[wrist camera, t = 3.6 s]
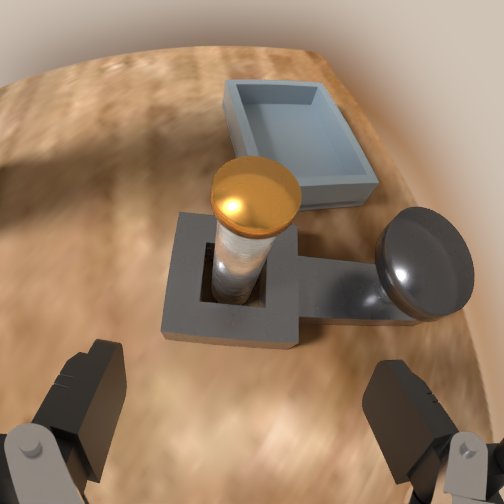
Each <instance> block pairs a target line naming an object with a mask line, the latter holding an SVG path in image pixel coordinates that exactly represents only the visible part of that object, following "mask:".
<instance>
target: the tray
mask: <svg viewBox="0 0 504 504" xmlns="http://www.w3.org/2000/svg"><path fill="white" fill-rule="evenodd" d="M223 110H224V114H225V118H226V122H227V126H228V130H229V134H230V138H231V141H232V145H233V149H234V153H235V157H236V158H238V157H243V156H260V157H265V158H268V159H271V160H274V161H276V162H278V163H280V164H281V165H283V166H284V167H286V168H287V169H288V170H289V171H290V172H291V173H292V174H293V175H294V176H295V178H296V179H297V181H298V183H299V186H300V189H301V195H302V197H301V204H300V207H299V209H298V211H306V210H317V209H329V208H340V207H353V206H363V204H364V203H365V202H366V200H367V199H368V197H369V196H370V195H371V193H372V192H373V191H374V189H375V188H376V187H377V185H378V184H379V181H378V179H377V177H376V175H375V173H374V171H373V169H372V167H371V165H370V164H369V162H368V160H367V158H366V156H365V154H364V152H363V150H362V149H361V147H360V145H359V143H358V141H357V140H356V138H355V136H354V134H353V132H352V131H351V129H350V127H349V126H348V124H347V122H346V120H345V119H344V117H343V115H342V114H341V112H340V110H339V109H338V107H337V106H336V104H335V102H334V101H333V99H332V98H331V96H330V94H329V93H328V91H327V90H326V88H325V87H324V85H323V84H322V83H316V82H303V81H285V80H225V88H224V97H223Z"/></svg>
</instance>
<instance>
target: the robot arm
mask: <svg viewBox="0 0 504 504" xmlns="http://www.w3.org/2000/svg"><path fill="white" fill-rule="evenodd" d="M126 388H127V381H126V373H125V365H124V356H123V348H122V344H121V343H117V342H112V341H106V340H101V339H96V340H95V342H94V343H93V345H92V347H91V349H90V350H89V352H88V354H86V353H82V352H79V353H77V354H76V355H75V356H73V357H72V358H71V359H69V360H68V361H67V362H66V364H65V365H64V367H63V368H62V370H61V372H60V375H58V377H57V378H56V380H55V382H54V385H52V387H51V389H50V390H49V392H48V394H47V395H46V397H45V399H44V401H43V402H42V404H41V406H40V408H39V410H38V411H37V413H36V415H35V417H34V419H33V420H32V422H31V423H26V424H21V425H19V426H16V427H15V428H13V429H12V430H11V431H10V432H9V433H8V434H0V504H90V502H89V500H88V498H87V496H86V494H85V492H84V490H85V487H86V483H87V480H90V481H93V482H97V483H100V480H101V476H102V472H103V469H104V465H105V462H106V458H107V455H108V451H109V448H110V445H111V441H112V438H113V435H114V431H115V428H116V425H117V422H118V419H119V416H120V413H121V409H122V406H123V403H124V400H125V396H126ZM362 407H363V411H364V414H365V416H366V418H367V420H368V422H369V424H370V427H371V429H372V431H373V433H374V435H375V438H376V440H377V442H378V444H379V446H380V449H381V451H382V453H383V455H384V458H385V460H386V462H387V464H388V467H389V469H390V471H391V473H392V476H393V478H394V480H395V483H396V485H397V484H401V483H404V482H408V481H410V482H411V484H412V486H411V487H410V488H409V489H408V491H407V494H406V497H405V500H404V503H403V504H504V502H503V500H502V498H501V496H500V494H499V492H498V491H499V490H500V489H501V488H502V487H503V486H504V438H503V440H502V441H501V442H500V443H497V444H496V443H495V444H485V442H484V441H483V440H482V439H481V438H480V437H479V436H477V435H476V434H474V433H471V432H466V431H464V432H459V430H458V429H457V427H456V426H455V425H454V423H453V422H452V420H451V419H450V417H449V416H448V414H447V413H446V411H445V410H444V409H443V407H442V406H441V404H440V403H438V400H437V399H436V397H435V396H434V394H432V392H431V390H430V389H429V387H428V386H427V385H426V383H425V382H424V381H423V380H421V379H420V378H419V377H418V376H416V375H415V374H414V373H412V372H411V371H410V369H409V368H408V367H407V365H406V364H405V362H404V361H402V360H383V361H380V362H379V363H378V364H377V366H376V368H375V370H374V373H373V375H372V377H371V379H370V382H369V384H368V386H367V388H366V390H365V393H364V395H363V399H362Z"/></svg>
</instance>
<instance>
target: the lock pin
mask: <svg viewBox="0 0 504 504" xmlns="http://www.w3.org/2000/svg"><path fill="white" fill-rule="evenodd" d="M301 197H302V195H301V189H300V186H299V183H298V181H297V179H296V178H295V176H294V175H293V174H292V173H291V172H290V171H289V170H288V169H287V168H286V167H284V166H283V165H281V164H280V163H278V162H276V161H274V160H271V159H268V158H265V157H260V156H243V157H238V158H235V159H233V160H230V161H228V162H227V163H225V164H224V165H223V166H222V167H220V169H219V170H218V171H217V173H216V174H215V176H214V179H213V182H212V194H211V206H212V210H213V213H214V215H215V217H216V218H217V230H216V240H215V250H214V261H213V272H212V284H211V291H212V294H213V296H214V298H215V299H216V301H217V302H219V303H220V304H229V305H242V304H243V303H245V302H246V301H247V299H248V298H249V296H250V294H251V292H252V289H253V287H254V285H255V283H256V281H257V278H258V276H259V274H260V272H261V270H262V267H263V265H264V263H265V261H266V259H267V256H268V254H269V252H270V250H271V247H272V245H273V243H274V241H275V239H276V236H277V235H279V234H281V233H282V232H284V231H285V230H286V229H287V228H288V227H289V226H290V225H291V223H292V221H293V220H294V217H295V215H296V213H297V211H298V209H299V207H300V204H301Z"/></svg>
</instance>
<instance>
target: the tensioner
mask: <svg viewBox="0 0 504 504" xmlns="http://www.w3.org/2000/svg"><path fill="white" fill-rule="evenodd" d="M216 230H217V218H216V217H215V216H214V215H204V214H195V213H185V212H179V217H178V223H177V228H176V233H175V239H174V245H173V250H172V256H171V262H170V269H169V275H168V281H167V288H166V295H165V302H164V309H163V317H162V325H161V333H162V334H163V336H164V337H165V339H168V340H176V341H185V342H194V343H204V344H214V345H225V346H238V347H252V348H268V349H289V348H291V347H293V346H294V345H296V344H298V343H299V323H306V324H328V325H360V326H414V325H416V324H419V323H421V322H423V321H424V322H431V321H436V320H439V319H441V318H443V317H445V316H448V315H450V314H452V313H454V312H456V311H458V310H460V309H461V308H462V307H464V306H465V304H466V303H467V302H468V300H469V299H470V297H471V294H472V291H473V287H474V267H473V262H472V258H471V255H470V252H469V249H468V247H467V245H466V243H465V241H464V240H463V238H462V236H461V235H460V233H459V232H458V231H457V230H456V228H455V227H454V226H453V225H452V224H451V223H450V222H449V221H448V220H447V219H445V218H444V217H443V216H441V215H440V214H438V213H436V212H435V211H432V210H430V209H427V208H423V207H410V208H407V209H405V210H403V211H401V212H400V213H399V214H398V215H397V216H396V217H395V218H394V219H393V220H392V221H391V222H390V223H389V224H388V226H387V227H386V228H385V229H384V230H383V231H382V232H381V234H380V236H379V238H378V240H377V243H376V248H375V264H371V263H361V262H352V261H343V260H334V259H324V258H315V257H306V256H298V233H297V225H290V226H289V227H288V228H287V229H286V230H285V231H284V232H282V233H281V234H279V235H277V236H276V239H275V241H274V243H273V245H272V247H271V250H270V252H269V254H268V256H267V259H266V261H265V263H264V265H263V267H262V270H261V272H260V291H259V307H252V306H240V305H229V304H219V303H209V302H201V296H202V286H203V277H204V268H205V260H206V259H210V260H214V250H215V240H216Z"/></svg>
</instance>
